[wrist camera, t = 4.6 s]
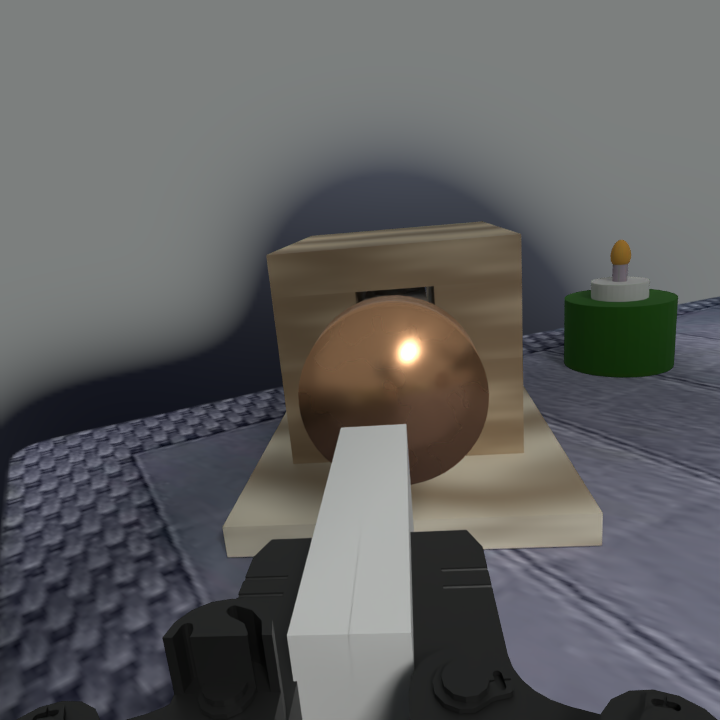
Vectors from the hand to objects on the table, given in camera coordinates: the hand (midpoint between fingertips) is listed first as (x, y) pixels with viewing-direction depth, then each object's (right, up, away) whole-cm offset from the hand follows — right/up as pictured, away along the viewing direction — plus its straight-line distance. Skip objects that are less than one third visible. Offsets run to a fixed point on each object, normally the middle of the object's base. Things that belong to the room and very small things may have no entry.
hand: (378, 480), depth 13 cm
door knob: (+1, +1, +13) cm, 13 cm away
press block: (+3, -3, +21) cm, 22 cm away
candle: (+21, +2, +35) cm, 40 cm away
